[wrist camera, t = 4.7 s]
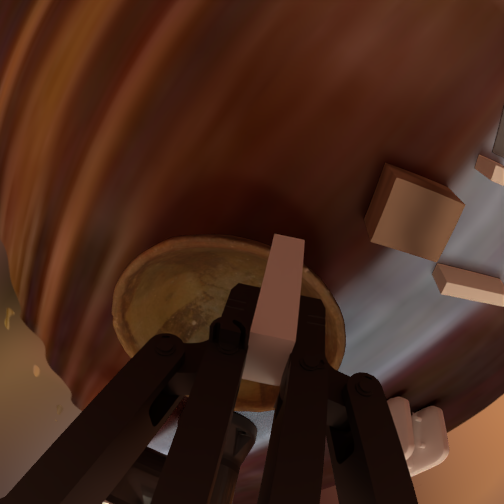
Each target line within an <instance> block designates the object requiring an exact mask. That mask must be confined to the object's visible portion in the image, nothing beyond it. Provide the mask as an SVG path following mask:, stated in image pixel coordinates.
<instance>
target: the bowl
mask: <svg viewBox="0 0 504 504" xmlns="http://www.w3.org/2000/svg"><path fill="white" fill-rule="evenodd" d="M270 250H271V246H270V245H267V244H264V243H262V242H258V241H255V240H252V239H247V238H242V237H238V236H232V235H226V234H200V235H183V236H176V237H172V238H168V239H166V240H164V241H162V242H160V243H158V244H156V245H154V246H152V247H151V248H149V249H147V250H146V251H144V252H142V253H141V254H140V255H139V256H137V257H136V258H135V259H134V260H133V261H132V262H131V263H130V264H129V265H128V266H127V267H126V269H125V270H124V272H123V273H122V275H121V276H120V278H119V280H118V282H117V284H116V286H115V289H114V295H113V303H112V313H111V314H112V315H113V327H114V329H115V331H116V333H117V337H118V339H119V341H120V343H121V345H122V347H123V348H124V350H125V351H126V353H127V354H128V355H129V356H130V357H131V358H132V357H133V356H134V355H135V354H136V353H137V352H138V351H139V350H140V349H141V348H142V347H143V346H144V345H145V344H146V343H147V342H148V340H149V339H151V338H152V337H153V336H155V335H158V334H161V333H170V334H173V335H176V336H178V337H179V338H180V339H182V341H183V343H199V342H203V341H206V340H208V339H209V329H210V325H211V323H212V322H213V321H214V320H215V319H217V318H219V317H221V316H222V313H223V310H224V307H225V305H226V302H227V300H228V297H229V294H230V291H231V289H232V288H233V287H234V286H236V285H237V284H238V283H242V284H246V285H251V286H256V287H260V288H261V286H262V282H263V278H264V274H265V270H266V266H267V262H268V258H269V254H270ZM300 295H302V296H307V297H312V298H317V299H321V301H322V302H323V304H324V306H325V308H326V315H325V357H326V359H327V361H328V363H329V364H330V366H332V367H333V368H334V369H335V370H337V371H338V369H339V367H340V365H341V362H342V359H343V356H344V352H345V347H346V334H345V324H344V319H343V316H342V313H341V310H340V308H339V306H338V304H337V302H336V300H335V299H334V297H333V295H332V294H331V292H330V291H329V289H328V288H327V286H326V285H325V284H324V282H323V281H322V280H321V279H320V278H319V277H318V276H317V275H316V274H315V273H314V272H313V271H312V270H311V269H310V268H309V267H307V266H306V265H305V264H303V270H302V281H301V293H300ZM280 385H281V383H280ZM279 391H280V386H275V385H270V384H265V383H260V382H255V381H250V380H246V379H241V383H240V388H239V392H238V396H237V400H236V404H235V408H234V411H250V412H264V411H270V410H275V408H273V407H274V404H275V402H276V399H277V397H278V394H279ZM185 396H187V397H189V395H185Z"/></svg>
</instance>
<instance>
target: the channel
mask: <svg viewBox="0 0 504 504" xmlns="http://www.w3.org/2000/svg"><path fill="white" fill-rule="evenodd" d="M475 169H476V170H478V171H479V172H480V173H482V174H483V175H484V176H486V177H487V178H488V179H490V180H491V181H494V182H496V183H498V184H500V185H503V186H504V166H503V165H501V164H500V163H497V162H495V161H493V160H491V159H489V158H486V157H484V156H482V155H480V154H479V156H478V159H477V162H476V165H475ZM432 275H433V278H434V280H435V282H436V284H437V286H438V288H439V291H440V293H441V294H443V295H448V296H453V297H458V298H463V299H468V300H473V301H478V302H483V303H488V304H493V305H498V306H503V307H504V284H503V283H502V281H501V280H500V279H499V278H495V277H491V276H487V275H483V274H479V273H476V272H472V271H468V270H464V269H460V268H456V267H452V266H447V265H443V264H439V263H437V265H436V267H435V269H434V271H433V273H432Z"/></svg>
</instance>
